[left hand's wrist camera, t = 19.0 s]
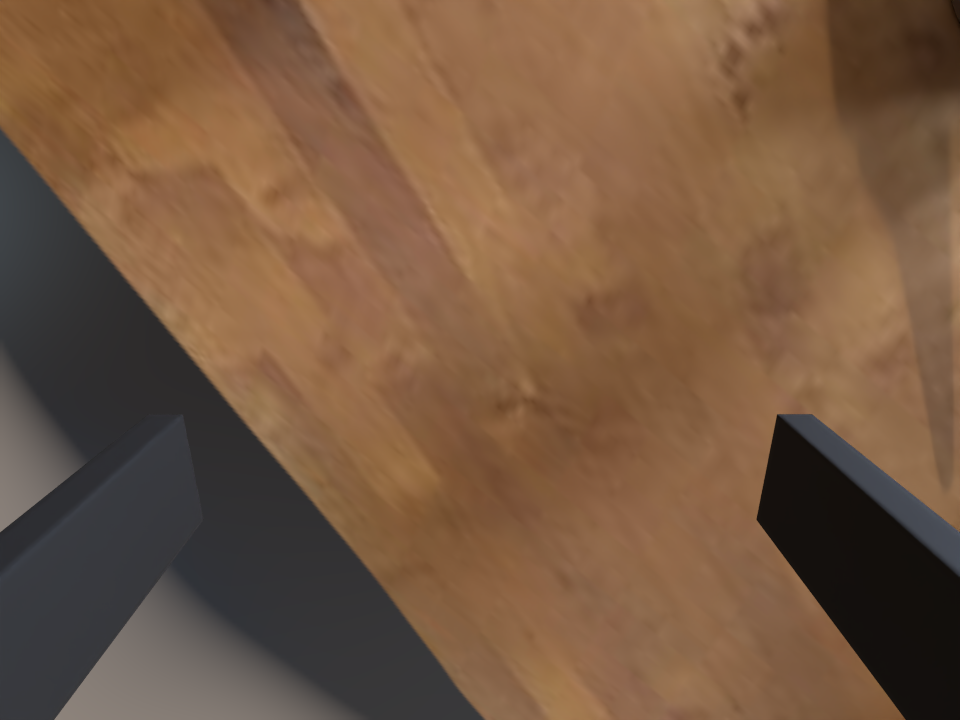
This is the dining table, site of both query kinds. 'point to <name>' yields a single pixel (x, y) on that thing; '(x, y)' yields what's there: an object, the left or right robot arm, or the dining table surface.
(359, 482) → the dining table surface
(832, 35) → the dining table surface
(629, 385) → the dining table surface
